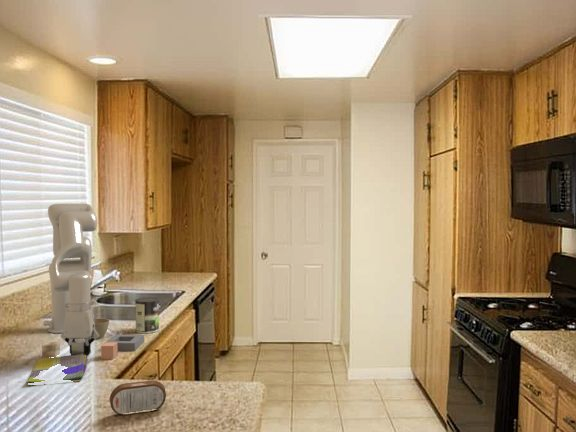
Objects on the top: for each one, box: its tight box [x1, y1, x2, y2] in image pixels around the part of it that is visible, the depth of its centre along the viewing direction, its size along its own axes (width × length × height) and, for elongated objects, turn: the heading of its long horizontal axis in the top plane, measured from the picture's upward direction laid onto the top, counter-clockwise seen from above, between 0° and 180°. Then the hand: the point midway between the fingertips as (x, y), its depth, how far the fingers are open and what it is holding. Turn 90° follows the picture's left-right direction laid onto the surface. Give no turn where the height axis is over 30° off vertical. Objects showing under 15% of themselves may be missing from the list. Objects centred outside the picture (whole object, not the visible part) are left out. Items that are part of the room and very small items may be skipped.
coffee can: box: [134, 296, 160, 334], centre depth 226 cm, size 10×10×14 cm
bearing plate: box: [104, 334, 145, 352], centre depth 202 cm, size 12×12×3 cm
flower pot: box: [91, 317, 110, 340], centre depth 214 cm, size 10×10×7 cm
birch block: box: [41, 341, 61, 359], centre depth 188 cm, size 4×4×5 cm
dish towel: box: [26, 354, 89, 385], centre depth 172 cm, size 18×24×3 cm
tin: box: [109, 379, 167, 415], centre depth 140 cm, size 15×3×8 cm, turn 111°
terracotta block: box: [100, 341, 119, 360], centre depth 188 cm, size 4×4×5 cm
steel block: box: [71, 339, 86, 355], centre depth 188 cm, size 4×4×6 cm
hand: (80, 354), depth 188 cm, fingers closed on steel block, 4 cm apart
